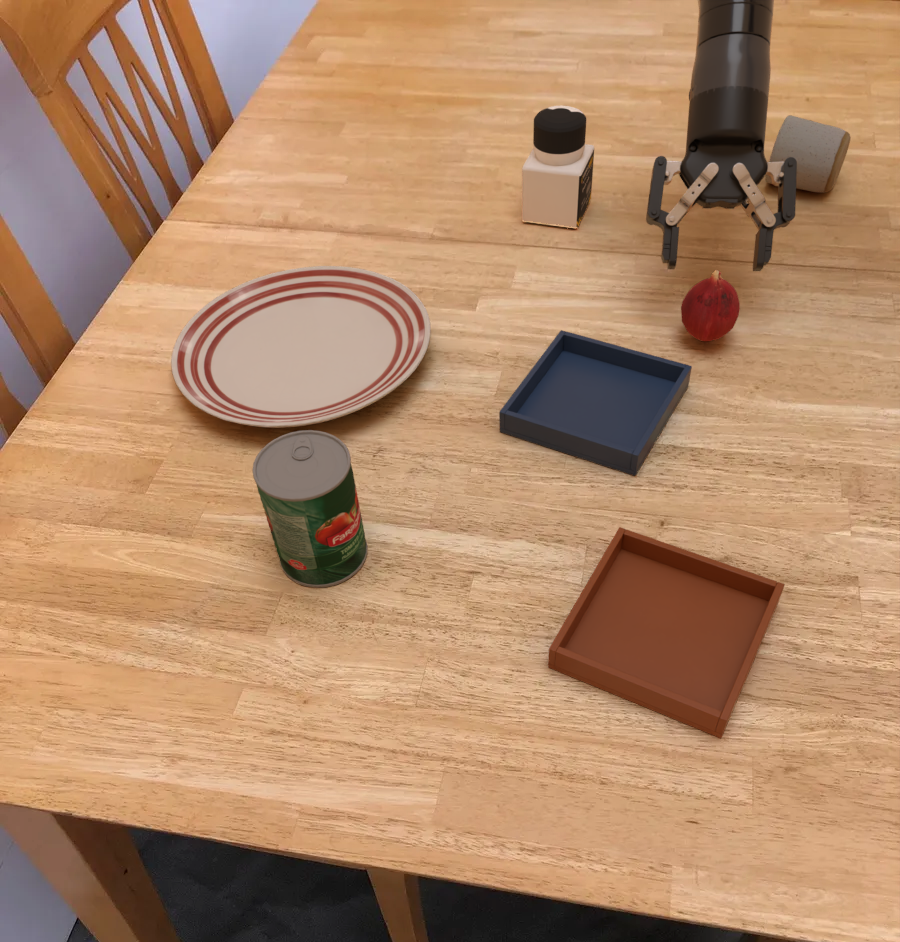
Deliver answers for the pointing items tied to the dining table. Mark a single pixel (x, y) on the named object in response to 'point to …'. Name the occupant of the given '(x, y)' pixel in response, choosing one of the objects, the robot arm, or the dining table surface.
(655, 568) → the copper tray
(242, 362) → the dinner plate
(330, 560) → the canned tomato
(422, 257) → the dining table surface
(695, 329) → the onion
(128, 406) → the dining table surface
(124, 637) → the dining table surface
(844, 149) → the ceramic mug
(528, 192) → the medicine bottle
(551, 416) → the blue tray
